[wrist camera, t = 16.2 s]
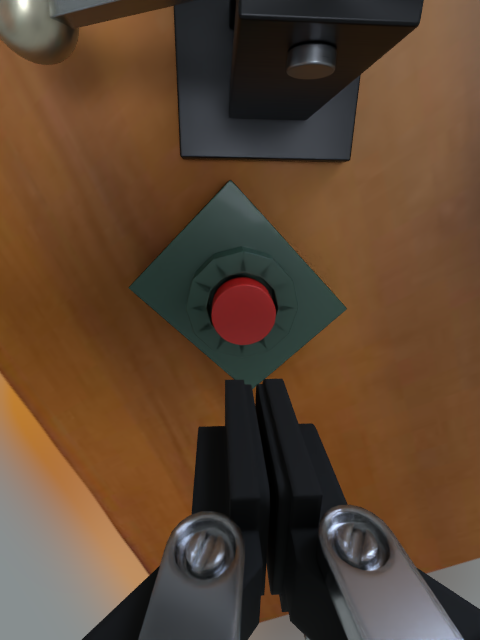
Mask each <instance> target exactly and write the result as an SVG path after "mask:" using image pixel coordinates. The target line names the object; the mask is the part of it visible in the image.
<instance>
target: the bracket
mask: <svg viewBox="0 0 480 640" xmlns="http://www.w3.org/2000/svg"><path fill="white" fill-rule="evenodd" d="M423 1H424V0H197V1H192V2H188V3H183V4H179V5H175V6H174V25H175V47H176V70H177V92H178V115H179V137H180V156H181V157H182V158H183V159H211V160H258V161H305V162H346V161H349V160H350V156H351V148H352V140H353V132H354V124H355V116H356V107H357V99H358V91H359V83H360V75H361V74H362V73H363V72H364V71H365V70H367V69H368V68H369V67H370V66H371V65H373V64H374V63H375V62H376V61H377V60H378V59H380V58H381V57H382V56H383V55H384V54H386V53H387V52H388V51H389V50H390V49H392V48H393V47H394V46H395V45H396V44H397V43H399V42H400V41H401V40H402V39H403V38H405V37H406V36H407V35H408V34H409V33H411V32H412V31H413V30H414V29H415V28H417V27H418V25H419V23H420V19H421V13H422V7H423Z"/></svg>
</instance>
